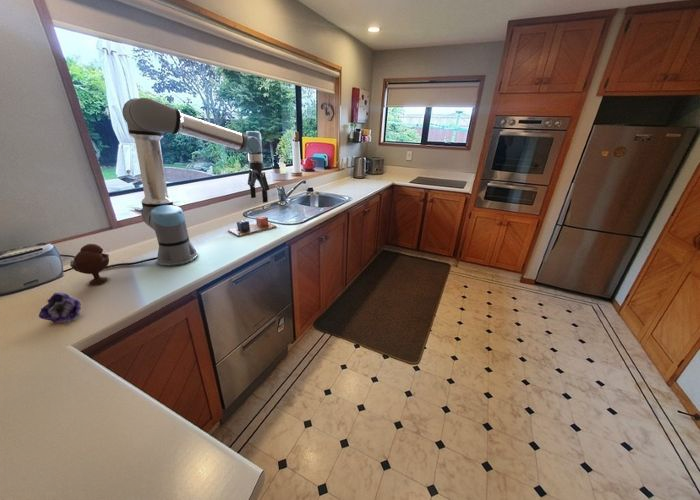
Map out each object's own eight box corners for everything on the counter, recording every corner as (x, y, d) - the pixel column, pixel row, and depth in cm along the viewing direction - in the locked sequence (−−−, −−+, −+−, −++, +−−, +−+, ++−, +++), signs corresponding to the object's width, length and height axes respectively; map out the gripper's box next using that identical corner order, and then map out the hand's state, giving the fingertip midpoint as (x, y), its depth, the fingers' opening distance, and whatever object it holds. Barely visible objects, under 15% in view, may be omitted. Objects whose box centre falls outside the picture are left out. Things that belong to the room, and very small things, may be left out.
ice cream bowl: (86, 277, 109) (72, 241, 103) (121, 273, 113) (109, 238, 107) (73, 291, 100) (56, 253, 94) (111, 286, 104) (97, 249, 98)
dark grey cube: (241, 231, 157) (240, 222, 155) (237, 229, 160) (236, 220, 158) (249, 229, 160) (248, 221, 158) (245, 227, 164) (244, 218, 162)
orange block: (260, 227, 165) (260, 218, 163) (256, 225, 168) (255, 216, 166) (268, 225, 168) (267, 217, 166) (264, 223, 172) (263, 215, 169)
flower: (40, 294, 87) (43, 291, 80) (79, 294, 93) (84, 292, 87) (35, 325, 85) (37, 324, 78) (74, 323, 91) (80, 322, 85)
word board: (238, 236, 153) (237, 235, 152) (228, 231, 160) (228, 229, 160) (276, 227, 169) (276, 225, 168) (266, 222, 176) (266, 221, 176)
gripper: (274, 163, 148) (276, 203, 156) (251, 159, 164) (254, 195, 172) (261, 164, 143) (264, 205, 151) (239, 159, 159) (243, 196, 167)
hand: (259, 200), depth 162 cm, fingers open, 13 cm apart
